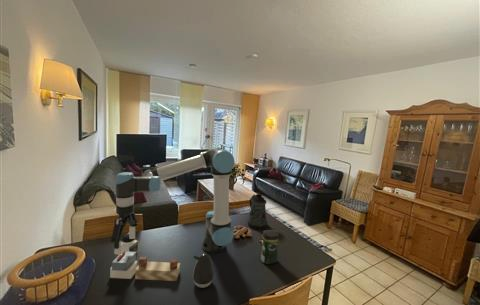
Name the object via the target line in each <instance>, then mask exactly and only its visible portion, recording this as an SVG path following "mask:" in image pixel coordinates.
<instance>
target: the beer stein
mask: <svg viewBox="0 0 480 305" xmlns="http://www.w3.org/2000/svg"><path fill="white" fill-rule="evenodd" d="M248 204H249V207H250V211H249V214H248V217H247V221H246V223H247V226H248V227H249V228H251V229H253V230H265V229H266V228H267V225H268V220H267V212H266V211H267V210H266V205H267V200H266V199H265V198H264V197H263V196H262V194H259V193H256V194H253V195H252V196H251V197H250V198H249V202H248Z"/></svg>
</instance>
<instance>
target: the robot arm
mask: <svg viewBox="0 0 480 305" xmlns="http://www.w3.org/2000/svg"><path fill="white" fill-rule="evenodd" d="M235 162H236V161H235V157H234V155H233V154H232V153H231V152H230V151H229V150H227V149H224V148H220V147H214V148H210V149H208V150H206V151H202V152H200V153H199V155H195V156H192V157H189V158H186V159H183V160H180V161H176V162H173V163H170V164H167V165H163V166H160V167H157V168H153V169H147V170H145V171H143V173H142V174H141V176H135V175H134V173H133V172H129V171H126V172H125V171H124V172H119V173H117V174H116V176H115V184H114V185H115V201H116V203H115V204H116V205H115V210H116V211H115V213H116V214H117V215H118V219H115V220H114V226H113V229H112V234H111V239H110V243H112V244H113V245H114V247H113V250H114V251H113V252H114V255H117V256H118V255H120V254H121V243H122V239H121V238H122V236H123V232H124V229H125V227H126V226H127V224H129V228H128V229H129V231H128V233H129V239H134V240H136V227H138V218H137V216H136V213H135V204H134V203H135V196H134V195H135V193H145V192H146V193H149V192H151V193H152V192H153V193H154V192H158V191H160V188H161V185H160V184H161V182H162V181H165V180H169V179H171V178H174V177H177V176H181V175H184V174H186V173H189V172H194V171H196V170H198V169H202V168H205V169H207V168H210V175H211V176H213V210H210V211H207V212H206V213H205V214H206V215H205V232H204V236H203V239H202V241H201V249H202V250H203V251H205V252H206V253H211V254H212V253H214V254H215V253H219V252H222V251H224V250H225V248H226V246H227V245H229V244H230V243H231V241H232V240H233V238H234V232H233V228H232V218H231V217H230V215H229V212H230V211H229V210H230V209H229V207H230V206H229V205H230V204H229V203H230V197H229V196H230V194H229V193H230V176H232V172H233V170H232V169H233V168H234V167H235Z"/></svg>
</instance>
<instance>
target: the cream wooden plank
mask: <svg viewBox="0 0 480 305" xmlns="http://www.w3.org/2000/svg"><path fill="white" fill-rule="evenodd" d="M180 272H181V263H180V262H178V259H176V258H173V259H171V260H169V262H165V261H164V262H161V261H148V256H140V257H139V258H138V264H137V268H136V269H135V274H134V277H135V278H134V280H148V281H150V280H151V281H166V282H167V281H169V282H177V281H178V278H179V276H180Z"/></svg>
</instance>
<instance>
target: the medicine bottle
mask: <svg viewBox="0 0 480 305" xmlns="http://www.w3.org/2000/svg"><path fill="white" fill-rule="evenodd" d="M122 251H126V252H136V254H137V253H138V251H139V241H138V240H136V239H129V232H128V233H124V234H122V241H121V252H122Z"/></svg>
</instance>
